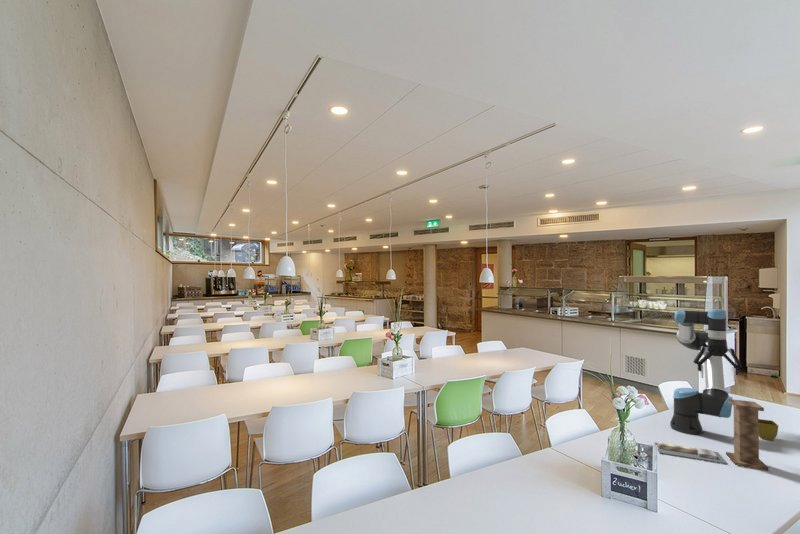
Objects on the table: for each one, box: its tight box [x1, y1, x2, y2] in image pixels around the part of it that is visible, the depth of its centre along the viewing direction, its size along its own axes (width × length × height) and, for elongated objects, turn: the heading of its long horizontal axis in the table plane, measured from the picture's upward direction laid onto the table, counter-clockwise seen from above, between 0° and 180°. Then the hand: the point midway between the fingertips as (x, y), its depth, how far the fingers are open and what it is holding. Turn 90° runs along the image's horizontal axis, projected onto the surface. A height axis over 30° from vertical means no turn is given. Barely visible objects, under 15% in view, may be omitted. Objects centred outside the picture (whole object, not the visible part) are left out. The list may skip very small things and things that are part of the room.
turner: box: [657, 442, 717, 459], centre depth 194 cm, size 23×7×2 cm, turn 66°
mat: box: [654, 441, 728, 465], centre depth 194 cm, size 27×13×1 cm, turn 66°
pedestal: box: [725, 399, 769, 472], centre depth 185 cm, size 12×12×28 cm
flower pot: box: [758, 418, 779, 441], centre depth 214 cm, size 9×9×9 cm
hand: (717, 378), depth 204 cm, fingers open, 13 cm apart
